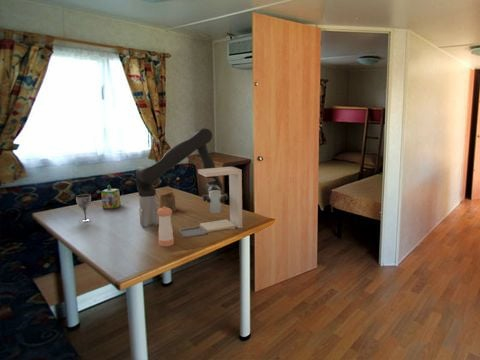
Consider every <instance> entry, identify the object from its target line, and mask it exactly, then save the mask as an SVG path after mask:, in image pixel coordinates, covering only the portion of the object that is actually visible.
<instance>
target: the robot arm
mask: <svg viewBox="0 0 480 360" xmlns="http://www.w3.org/2000/svg"><path fill="white" fill-rule="evenodd" d="M212 139H213V133H212V131H211V130H210V129H209V128H199V129H196V130H195V131H194V132H193V135H192V137H190V138H189V139H186V140H185V141H182V142H180V143H178V144H175V145H174V146H172V147H171V148H170V149H168V150H167V151H166V152H165V153H164V154H163V156H162V157H161V159H160V160H158V161H157V162H155V163H154V164H152V165H150V166H147V165H140V166H139V167H137V169H136V172H135V182H136V190H137V192H138V202H139V208H138V212H139V224H140V226H141V227H142V228H149V227H154V226H158V225H159V217H158V215H157V211H158V206H157V205H158V204H157V203H158V201H157V197H156V193H157V191H156V188H155V187H154V185H153V183H155V182H156V181H157V180H158V179H160V177H162V176H163V175H164V174H165V173H166V172H167V171H169V170H171V169H172V168H173V167H175V166H177V165H178V164H179V163H181V162H182V161H184V160H185V159H186V158H188V157H189V156H190V155H191V154H193V153H194V152H195V151H197V152H198V154H199V157H200V160H201V163H202V166H203V169H209V168H216V166H215V165H216V164H215V162H214V159H213V158H212V156H211V155H210V153H209V151H208V148H207V144H209V143H210V142H211V140H212ZM205 178H206V179H214V180H212V181H208V182H207V183H205V185H204V187H205V191H206V193H207V194H204V193H203V194H202V201H204V202H207V203H208V204H210V198H209V191H212V190H219V191H221V192H222V190H223V188H224V186H223V183H222V181H221V179H220V178H219V176H210V177H205ZM227 200H228V193H226V192H225V193H224V194H223V193H221V203H223V202H224V201H227Z"/></svg>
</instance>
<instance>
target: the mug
mask: <svg viewBox="0 0 480 360" xmlns="http://www.w3.org/2000/svg"><path fill="white" fill-rule="evenodd" d="M175 195H176V194H175V192H174V191H172V192H168V193H164V194H161V195H159V197H158V193H157V192H156V199H159V205H158V204H157V208H158V209H160V208H163V207H164V206H165V207H167V208H170V209H171V210H172V212H175V211H176V210H177V209H178V208H177V207H176V198H175V197H176V196H175Z"/></svg>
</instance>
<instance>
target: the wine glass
mask: <svg viewBox="0 0 480 360" xmlns="http://www.w3.org/2000/svg"><path fill="white" fill-rule="evenodd" d="M75 201H76V204H77V207H78V208H79V209H80V210H82V211H83V214H84V218H83V219H80V220H81V221H89V220H90V219H91V218H87V211H88V209H89V207H90V206H91V203H92V195H91V194H88V193H86V194H85V193H84V194H79V195H76V196H75Z"/></svg>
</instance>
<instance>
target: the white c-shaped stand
mask: <svg viewBox="0 0 480 360" xmlns="http://www.w3.org/2000/svg"><path fill="white" fill-rule="evenodd" d="M242 171H243V170H242V169H240V168H238V167H235V166H223V167H222V166H221V167H215V168H209V169H204V168H200V169H198V168H197V174H199V175H201V176H203V177H205V178H206V177H210V176H218V177H219V176H228V179H229V180H228V186H229V187H228V188H229V196H228V197H229V219H219V220H214V221H213V220H212V221H207V222H201V223H199V226H200V227H202V228H203V229H204V230H205V231H206V232H207V233H210V232H216V231H222V230H227V229H231V230H236V228H238V229H243V186H242V185H243V182H242V180H243V177H242V176H243V173H242Z"/></svg>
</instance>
